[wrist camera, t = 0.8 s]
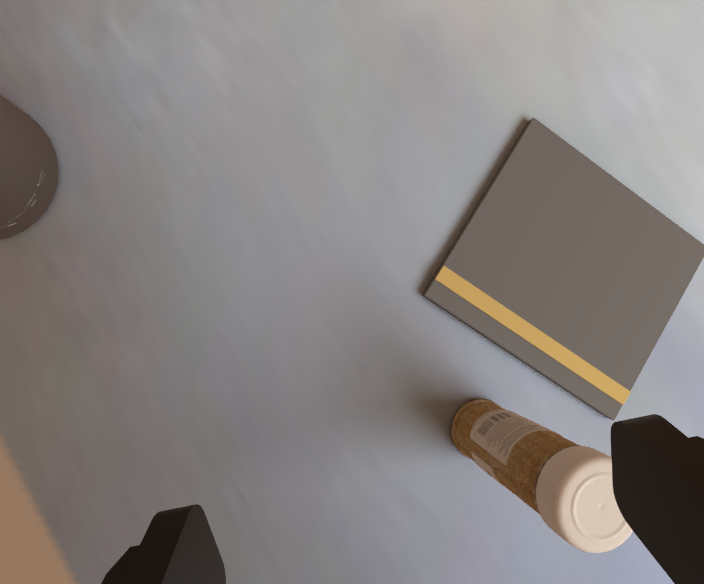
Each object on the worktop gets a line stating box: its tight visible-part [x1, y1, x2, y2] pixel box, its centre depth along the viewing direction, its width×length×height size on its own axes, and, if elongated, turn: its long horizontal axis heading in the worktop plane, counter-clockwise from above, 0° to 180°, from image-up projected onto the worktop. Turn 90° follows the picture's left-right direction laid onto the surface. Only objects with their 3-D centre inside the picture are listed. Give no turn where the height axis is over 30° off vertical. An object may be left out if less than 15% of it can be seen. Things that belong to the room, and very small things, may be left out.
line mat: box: [422, 118, 704, 420], centre depth 36 cm, size 18×16×1 cm
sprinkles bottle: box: [451, 399, 633, 553], centre depth 28 cm, size 5×5×14 cm
